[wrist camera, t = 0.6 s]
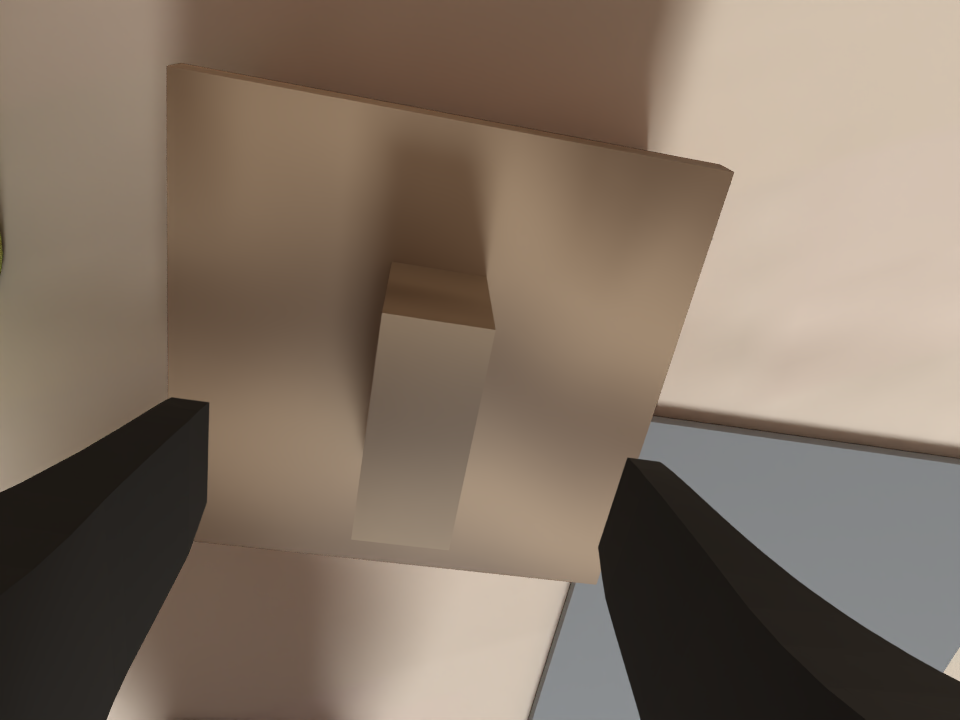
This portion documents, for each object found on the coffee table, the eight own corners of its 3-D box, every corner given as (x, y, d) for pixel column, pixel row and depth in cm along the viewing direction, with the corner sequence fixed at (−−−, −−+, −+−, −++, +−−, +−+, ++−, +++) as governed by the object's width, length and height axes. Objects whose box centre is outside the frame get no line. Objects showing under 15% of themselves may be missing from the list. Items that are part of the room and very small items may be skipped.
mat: (870, 765, 30) (876, 775, 30) (522, 738, 28) (523, 747, 28) (1059, 472, 24) (1068, 479, 23) (624, 411, 22) (628, 418, 21)
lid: (590, 563, 20) (620, 672, 16) (179, 517, 18) (122, 626, 15) (719, 164, 15) (796, 206, 12) (181, 63, 14) (100, 78, 10)
